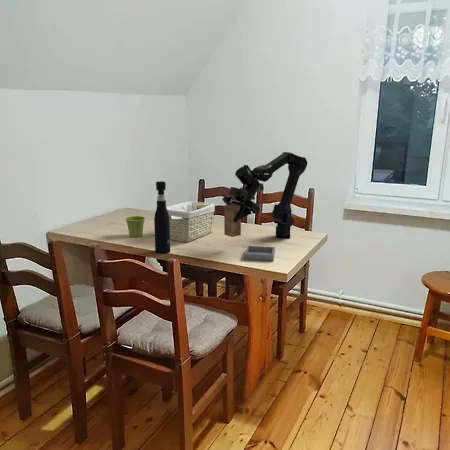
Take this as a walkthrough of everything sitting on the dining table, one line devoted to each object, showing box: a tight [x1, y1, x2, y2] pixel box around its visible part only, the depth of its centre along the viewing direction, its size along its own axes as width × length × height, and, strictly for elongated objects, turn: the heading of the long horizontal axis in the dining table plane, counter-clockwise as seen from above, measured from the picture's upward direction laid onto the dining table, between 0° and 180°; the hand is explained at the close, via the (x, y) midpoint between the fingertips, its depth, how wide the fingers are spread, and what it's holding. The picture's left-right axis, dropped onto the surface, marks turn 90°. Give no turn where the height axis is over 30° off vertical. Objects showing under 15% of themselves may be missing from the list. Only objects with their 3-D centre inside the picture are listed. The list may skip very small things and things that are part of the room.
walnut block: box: [223, 204, 242, 238], centre depth 193 cm, size 5×5×13 cm
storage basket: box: [166, 200, 216, 243], centre depth 217 cm, size 24×16×15 cm
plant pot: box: [124, 215, 146, 238], centre depth 217 cm, size 9×9×9 cm
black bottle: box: [153, 180, 171, 255], centre depth 190 cm, size 6×6×30 cm
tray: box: [244, 245, 276, 262], centre depth 188 cm, size 12×12×2 cm
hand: (230, 220), depth 192 cm, fingers closed on walnut block, 5 cm apart
